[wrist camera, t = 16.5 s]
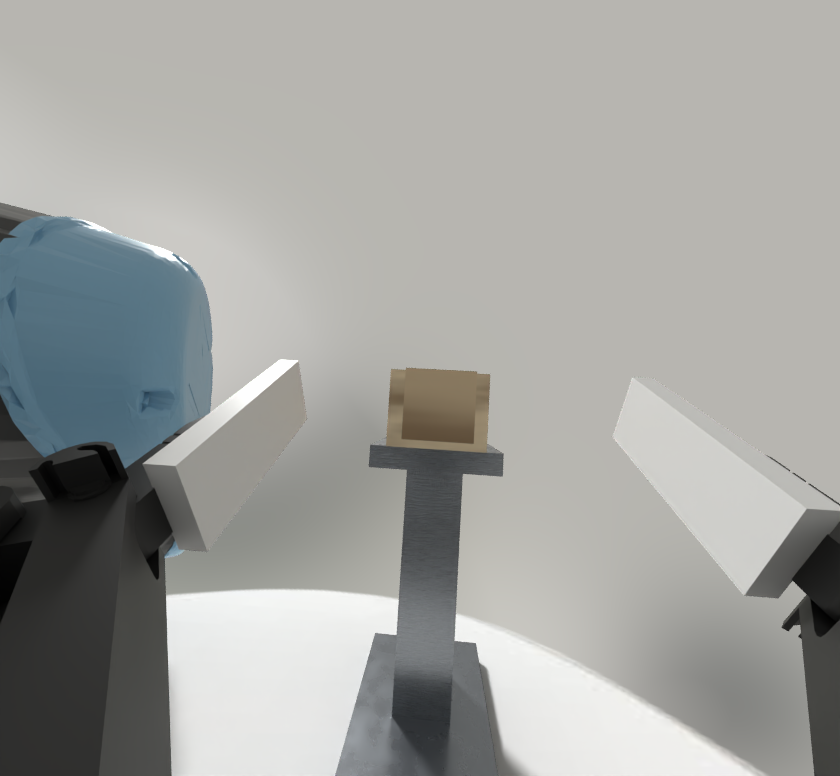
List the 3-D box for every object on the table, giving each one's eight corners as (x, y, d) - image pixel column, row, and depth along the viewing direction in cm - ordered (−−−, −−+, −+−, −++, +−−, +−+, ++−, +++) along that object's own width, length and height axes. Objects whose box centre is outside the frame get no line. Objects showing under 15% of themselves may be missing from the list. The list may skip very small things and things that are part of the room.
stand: (500, 824, 27) (514, 454, 29) (333, 802, 27) (359, 443, 30) (475, 658, 44) (485, 438, 47) (374, 648, 45) (388, 432, 47)
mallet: (569, 518, 11) (574, 312, 11) (304, 498, 11) (321, 302, 12) (473, 442, 39) (476, 384, 39) (398, 437, 39) (402, 380, 40)
